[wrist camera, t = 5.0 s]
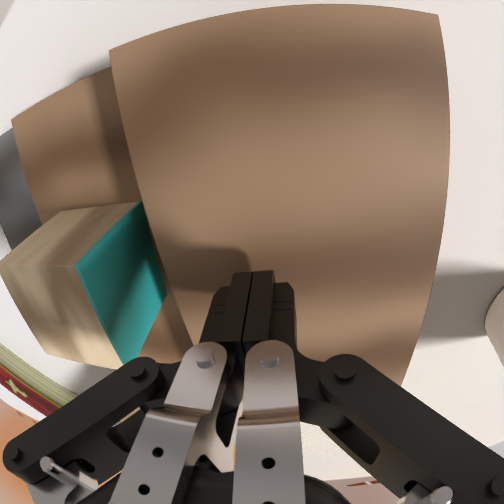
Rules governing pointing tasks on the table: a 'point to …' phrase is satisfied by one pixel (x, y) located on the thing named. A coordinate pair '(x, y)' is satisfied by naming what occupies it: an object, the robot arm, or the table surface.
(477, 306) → the table surface
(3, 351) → the hardcover book
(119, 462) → the robot arm
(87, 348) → the maple cube
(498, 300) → the pill bottle
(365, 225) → the walnut staircase
